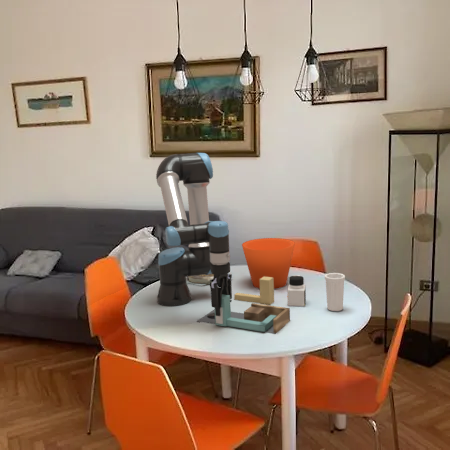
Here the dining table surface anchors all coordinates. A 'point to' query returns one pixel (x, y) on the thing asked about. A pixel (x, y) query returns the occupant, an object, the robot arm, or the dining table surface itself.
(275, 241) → the flowerpot
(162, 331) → the dining table surface
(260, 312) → the walnut block
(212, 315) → the black round disc
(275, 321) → the wooden l-shaped bracket
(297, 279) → the medicine bottle
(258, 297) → the yellow l-shaped block
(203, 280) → the pie
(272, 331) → the runner mat
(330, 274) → the cup
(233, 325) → the crook
